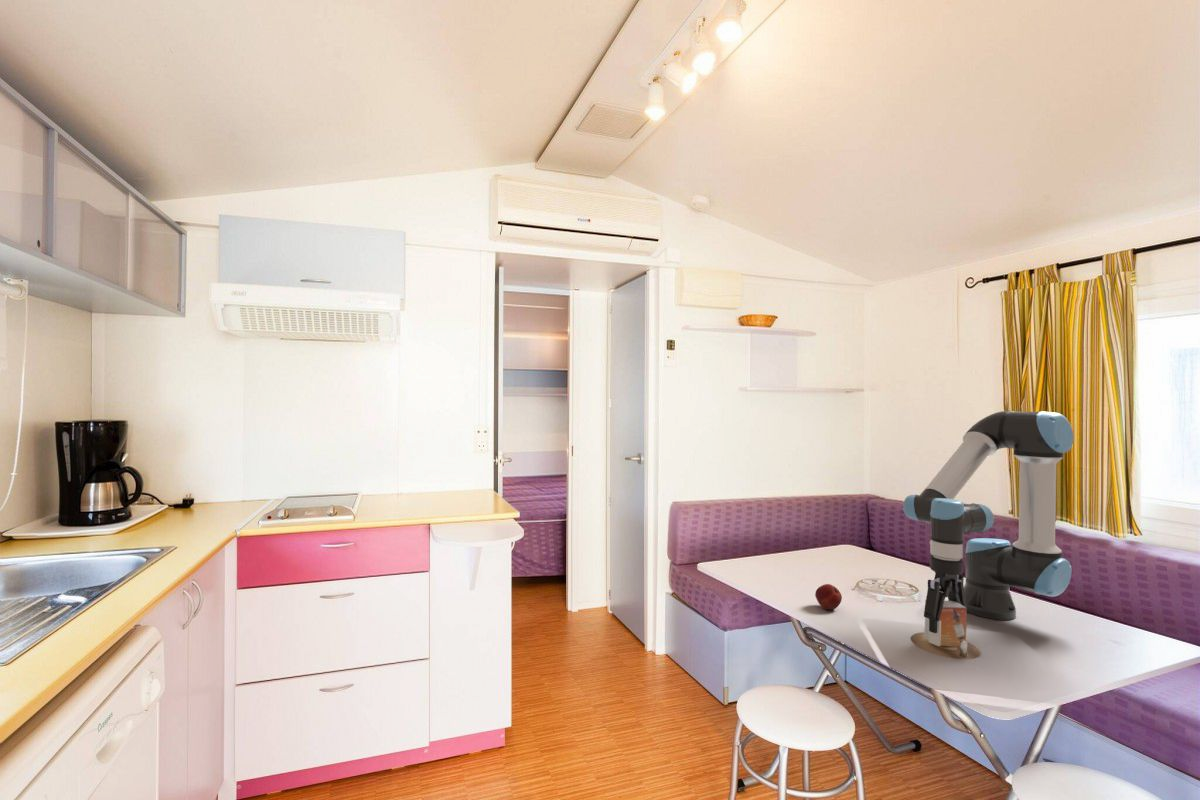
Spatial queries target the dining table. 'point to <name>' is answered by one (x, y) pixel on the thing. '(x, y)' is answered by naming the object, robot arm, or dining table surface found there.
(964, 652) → the stop pin
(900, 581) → the dining table surface
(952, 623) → the small box
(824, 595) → the apple
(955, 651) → the flange base
